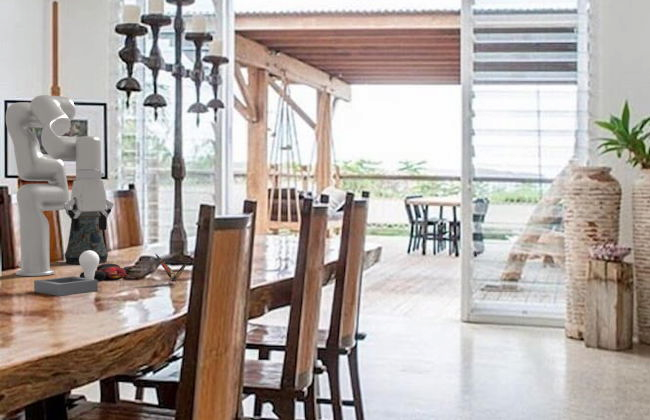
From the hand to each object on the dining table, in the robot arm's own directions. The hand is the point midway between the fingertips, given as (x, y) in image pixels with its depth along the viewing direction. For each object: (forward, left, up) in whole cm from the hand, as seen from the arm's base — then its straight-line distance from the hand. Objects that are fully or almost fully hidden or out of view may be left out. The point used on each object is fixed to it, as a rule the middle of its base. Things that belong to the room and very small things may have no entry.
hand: (89, 230), depth 238 cm
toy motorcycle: (-12, +17, -18) cm, 27 cm away
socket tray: (+6, -12, -17) cm, 22 cm away
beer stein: (-58, +36, -18) cm, 71 cm away
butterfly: (+19, +18, -18) cm, 31 cm away
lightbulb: (0, 0, -18) cm, 18 cm away
